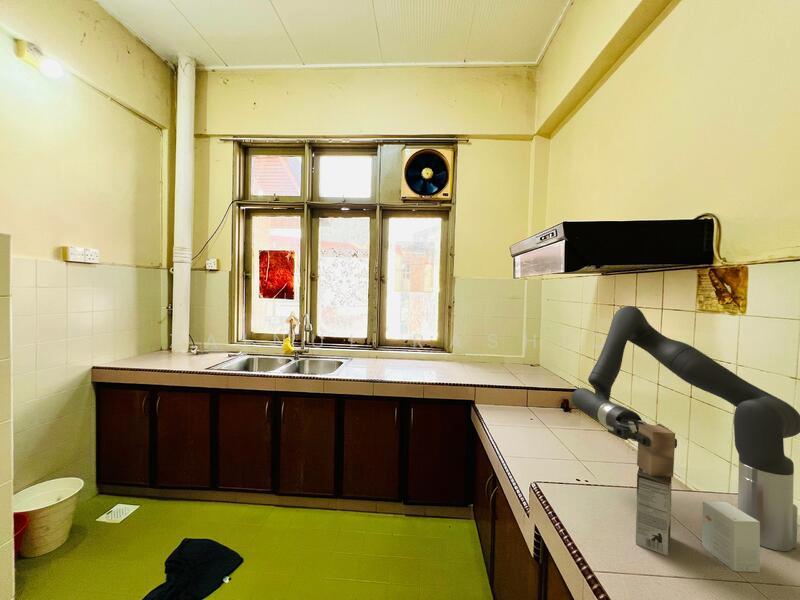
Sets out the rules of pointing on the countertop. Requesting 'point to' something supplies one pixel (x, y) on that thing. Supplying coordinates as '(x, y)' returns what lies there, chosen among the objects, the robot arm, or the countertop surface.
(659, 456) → the walnut block
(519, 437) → the countertop surface
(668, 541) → the coffee box
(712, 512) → the small box
